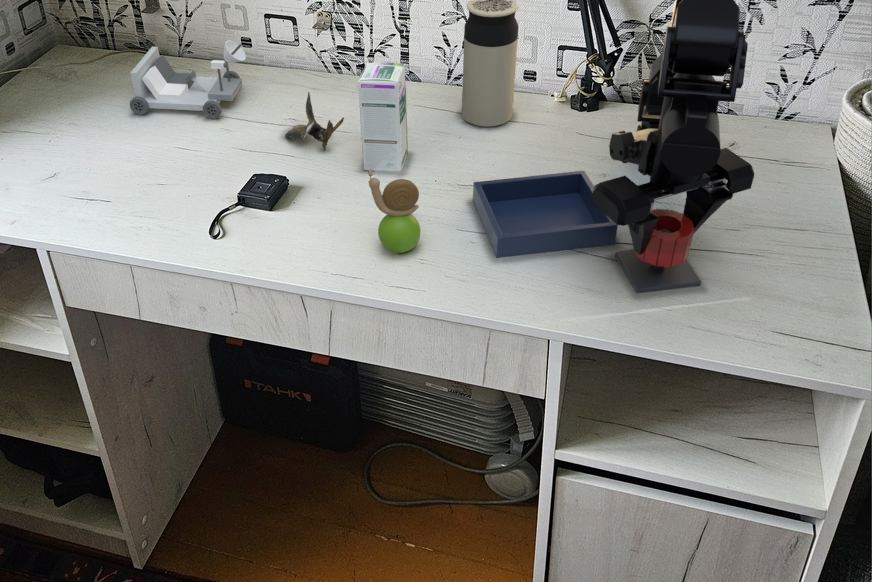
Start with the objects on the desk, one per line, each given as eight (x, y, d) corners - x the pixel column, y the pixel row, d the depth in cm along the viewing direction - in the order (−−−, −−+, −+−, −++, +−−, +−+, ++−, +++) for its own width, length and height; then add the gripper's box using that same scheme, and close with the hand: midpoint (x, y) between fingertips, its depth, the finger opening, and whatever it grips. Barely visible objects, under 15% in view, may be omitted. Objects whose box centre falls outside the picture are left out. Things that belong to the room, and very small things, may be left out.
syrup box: (401, 174, 137) (400, 80, 127) (361, 171, 138) (357, 78, 128) (408, 154, 141) (407, 62, 131) (369, 151, 142) (365, 60, 132)
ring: (675, 233, 117) (681, 206, 115) (696, 263, 113) (703, 236, 110) (625, 238, 117) (629, 211, 114) (644, 270, 112) (649, 242, 109)
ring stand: (674, 250, 120) (683, 210, 116) (700, 288, 114) (709, 247, 110) (614, 257, 119) (620, 217, 116) (636, 295, 113) (644, 255, 110)
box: (581, 191, 131) (584, 170, 129) (614, 246, 121) (618, 224, 119) (472, 203, 130) (473, 182, 128) (496, 260, 120) (497, 238, 118)
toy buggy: (249, 32, 153) (229, 62, 144) (256, 88, 159) (237, 120, 151) (145, 27, 156) (118, 57, 147) (155, 83, 162) (131, 114, 153)
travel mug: (514, 127, 146) (523, 14, 134) (463, 129, 146) (467, 15, 134) (509, 103, 152) (516, -8, 140) (460, 105, 152) (463, -6, 140)
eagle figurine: (354, 131, 144) (317, 102, 148) (337, 107, 138) (299, 77, 142) (320, 168, 144) (284, 138, 148) (301, 145, 138) (264, 115, 142)
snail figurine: (369, 239, 124) (366, 159, 116) (417, 235, 125) (417, 155, 117) (373, 263, 120) (369, 182, 112) (423, 259, 121) (423, 178, 113)
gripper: (707, 83, 112) (683, 195, 122) (573, 117, 107) (559, 230, 117) (771, 123, 104) (740, 239, 115) (630, 162, 99) (610, 279, 109)
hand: (661, 245), depth 114 cm, fingers closed on ring, 6 cm apart
